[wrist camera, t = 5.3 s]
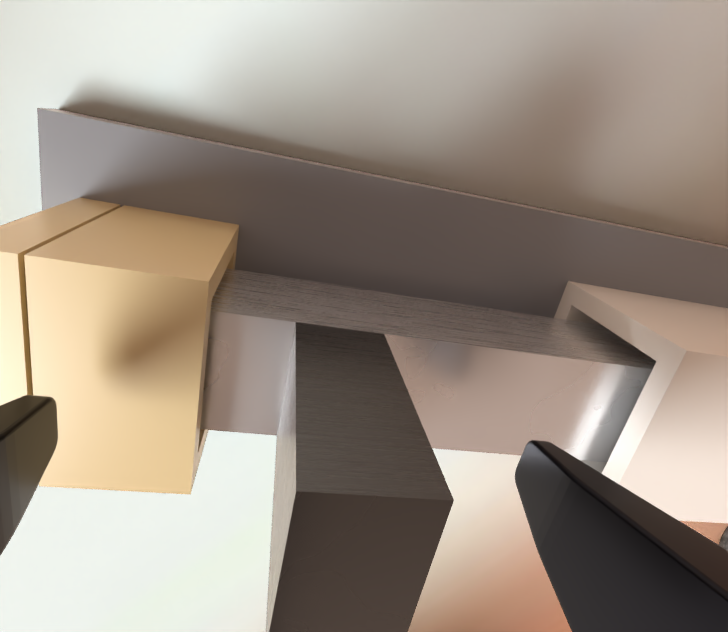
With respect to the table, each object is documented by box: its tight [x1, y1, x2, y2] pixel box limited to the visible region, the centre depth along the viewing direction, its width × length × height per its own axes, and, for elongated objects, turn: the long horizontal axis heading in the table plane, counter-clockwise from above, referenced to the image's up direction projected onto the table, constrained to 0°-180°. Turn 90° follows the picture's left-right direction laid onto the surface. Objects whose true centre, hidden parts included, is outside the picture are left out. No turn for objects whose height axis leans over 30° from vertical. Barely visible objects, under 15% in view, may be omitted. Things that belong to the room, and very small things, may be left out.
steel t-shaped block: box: [200, 268, 656, 632], centre depth 10 cm, size 3×17×8 cm, turn 78°
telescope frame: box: [0, 108, 728, 523], centre depth 14 cm, size 9×29×6 cm, turn 78°
